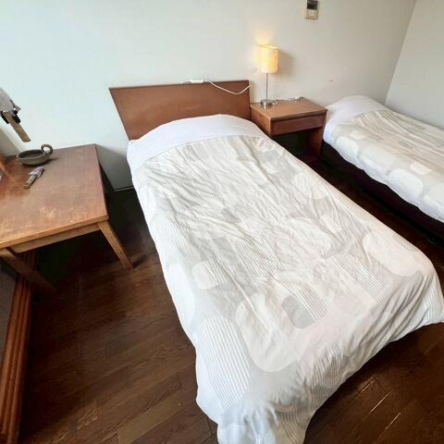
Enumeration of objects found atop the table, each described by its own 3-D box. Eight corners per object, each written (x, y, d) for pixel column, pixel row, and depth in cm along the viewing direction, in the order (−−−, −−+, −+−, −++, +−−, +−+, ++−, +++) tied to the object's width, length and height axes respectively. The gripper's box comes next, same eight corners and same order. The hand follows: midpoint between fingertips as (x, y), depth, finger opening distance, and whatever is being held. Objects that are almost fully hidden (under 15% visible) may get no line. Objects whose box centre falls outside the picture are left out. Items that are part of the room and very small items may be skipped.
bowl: (22, 160, 149) (10, 144, 143) (58, 153, 158) (49, 139, 151) (21, 170, 142) (9, 155, 135) (59, 163, 150) (49, 148, 143)
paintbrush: (43, 164, 143) (28, 185, 130) (46, 168, 145) (31, 189, 132) (35, 164, 142) (19, 185, 129) (38, 168, 144) (22, 189, 131)
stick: (21, 142, 139) (0, 113, 128) (24, 139, 141) (4, 111, 130) (29, 142, 140) (9, 113, 129) (32, 139, 142) (12, 111, 131)
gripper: (-40, 87, 116) (-10, 126, 129) (4, 87, 120) (29, 125, 133) (-30, 83, 121) (-2, 120, 134) (12, 83, 126) (35, 119, 138)
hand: (13, 122), depth 133 cm, fingers closed on stick, 3 cm apart
